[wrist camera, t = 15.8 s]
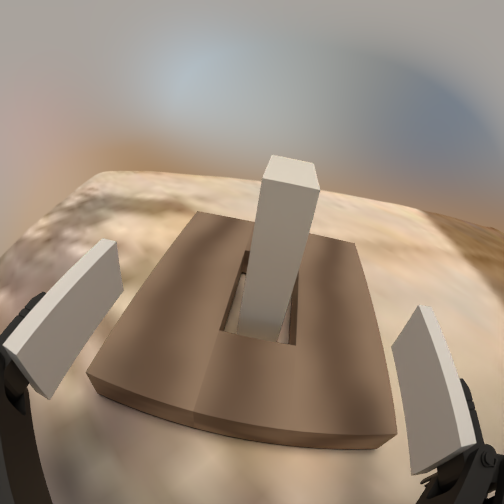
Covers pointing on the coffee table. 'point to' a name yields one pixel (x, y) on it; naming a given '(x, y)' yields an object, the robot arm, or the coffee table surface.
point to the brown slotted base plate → (252, 347)
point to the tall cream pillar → (277, 245)
